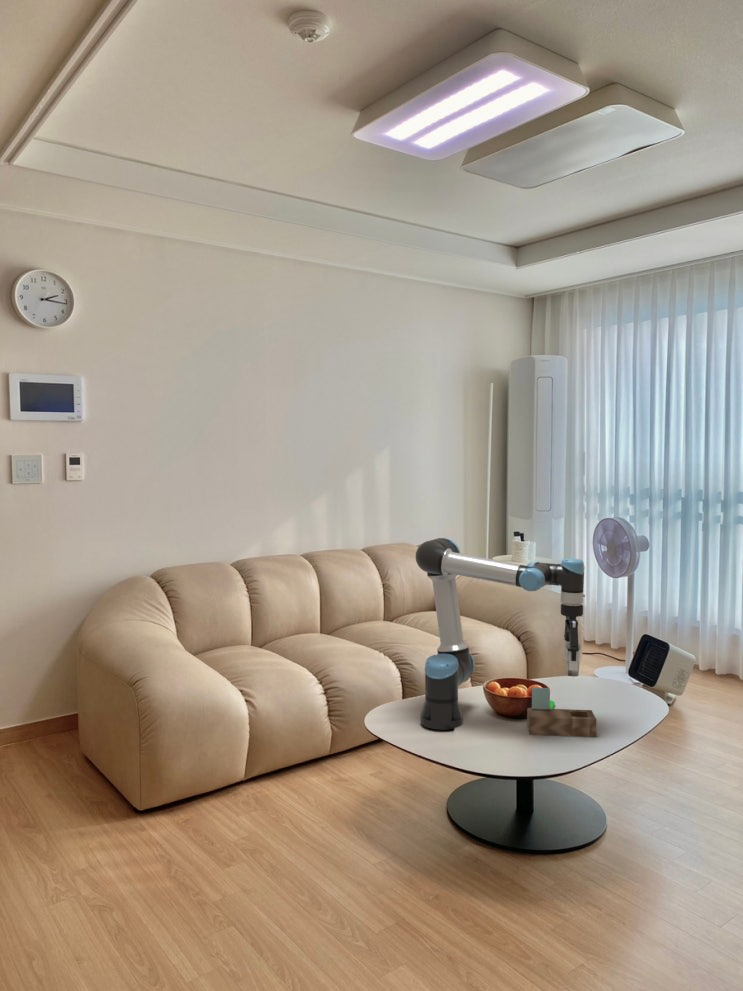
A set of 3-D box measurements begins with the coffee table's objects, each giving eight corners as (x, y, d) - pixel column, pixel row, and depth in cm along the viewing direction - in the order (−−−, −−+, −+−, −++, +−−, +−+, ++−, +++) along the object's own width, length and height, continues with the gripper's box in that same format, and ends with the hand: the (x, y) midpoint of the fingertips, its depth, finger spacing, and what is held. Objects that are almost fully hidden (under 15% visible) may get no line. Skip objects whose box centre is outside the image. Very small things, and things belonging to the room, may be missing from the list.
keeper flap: (531, 709, 275) (531, 687, 275) (531, 709, 276) (531, 687, 276) (550, 710, 274) (550, 688, 274) (550, 710, 275) (550, 688, 275)
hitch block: (529, 734, 268) (529, 717, 267) (527, 724, 277) (527, 708, 277) (596, 737, 265) (596, 719, 265) (591, 727, 275) (591, 710, 275)
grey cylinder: (566, 676, 266) (567, 646, 266) (564, 673, 271) (564, 643, 271) (581, 676, 266) (581, 646, 266) (578, 673, 271) (579, 643, 270)
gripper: (588, 611, 259) (586, 675, 260) (578, 597, 284) (577, 656, 285) (564, 610, 260) (563, 674, 261) (557, 597, 285) (556, 655, 286)
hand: (570, 664), depth 273 cm, fingers open, 13 cm apart
